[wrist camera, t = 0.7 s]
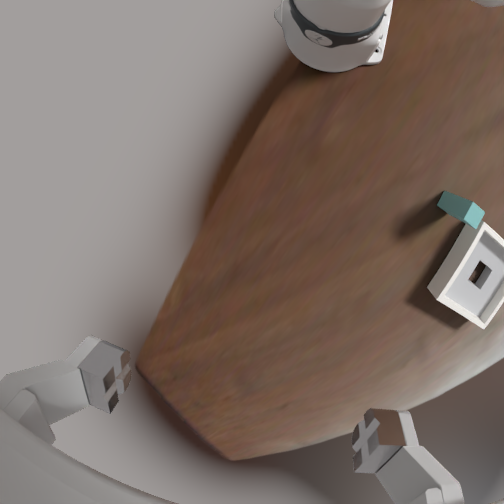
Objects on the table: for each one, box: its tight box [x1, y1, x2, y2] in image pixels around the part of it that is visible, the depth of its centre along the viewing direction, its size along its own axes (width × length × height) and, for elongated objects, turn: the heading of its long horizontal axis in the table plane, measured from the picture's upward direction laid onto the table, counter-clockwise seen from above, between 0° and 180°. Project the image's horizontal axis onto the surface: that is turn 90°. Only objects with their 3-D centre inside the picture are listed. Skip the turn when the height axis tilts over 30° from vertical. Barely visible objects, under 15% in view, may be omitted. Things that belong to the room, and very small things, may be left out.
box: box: [427, 220, 504, 329], centre depth 44 cm, size 16×16×5 cm
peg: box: [437, 191, 485, 229], centre depth 39 cm, size 3×3×10 cm
